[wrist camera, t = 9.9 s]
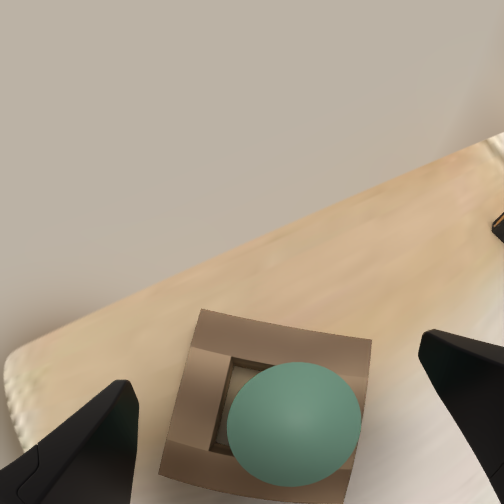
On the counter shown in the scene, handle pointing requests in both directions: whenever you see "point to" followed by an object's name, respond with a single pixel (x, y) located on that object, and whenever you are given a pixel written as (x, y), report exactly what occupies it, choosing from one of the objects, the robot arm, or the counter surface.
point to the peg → (294, 424)
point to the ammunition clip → (499, 227)
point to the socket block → (215, 391)
